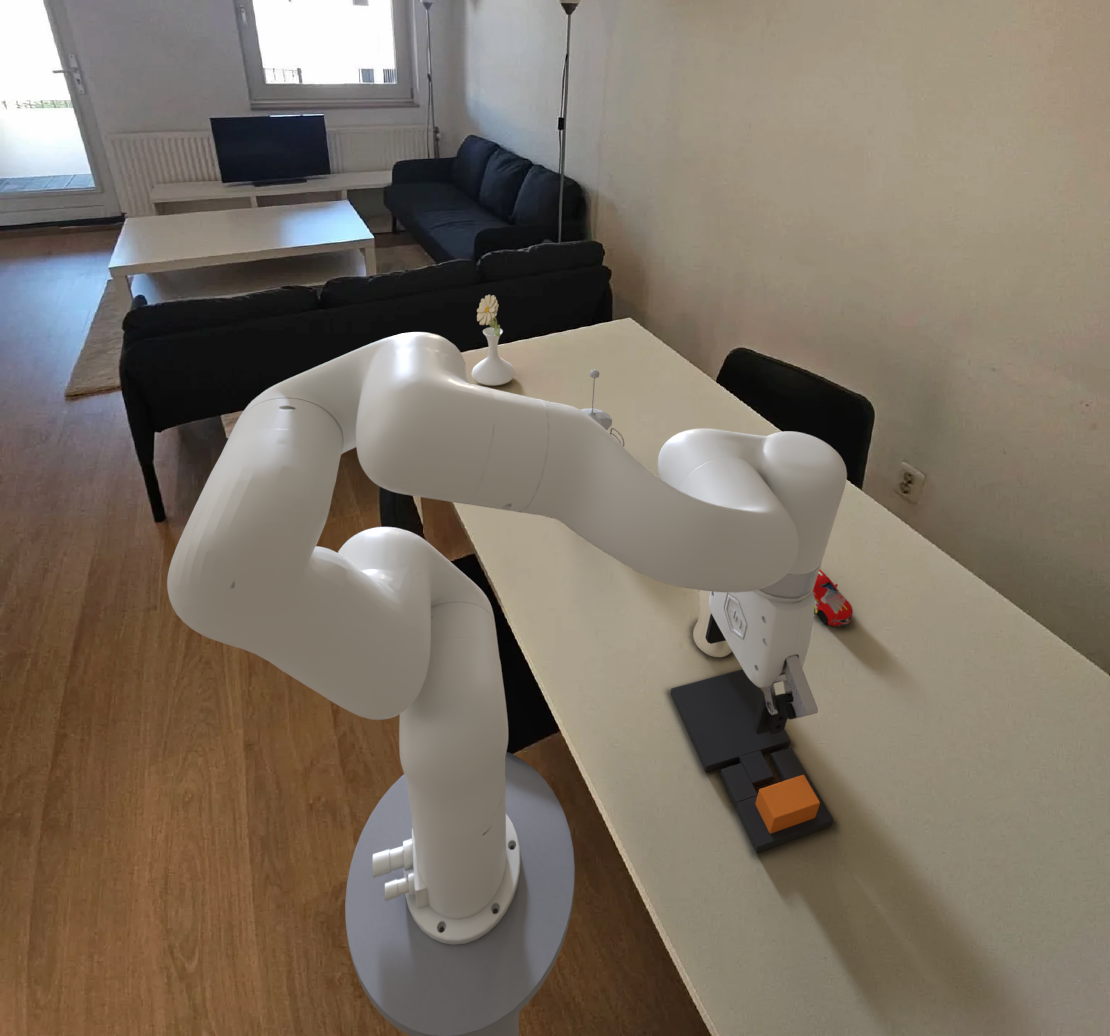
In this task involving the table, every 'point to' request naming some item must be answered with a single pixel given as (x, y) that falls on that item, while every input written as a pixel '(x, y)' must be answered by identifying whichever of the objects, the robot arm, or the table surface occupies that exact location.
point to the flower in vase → (491, 348)
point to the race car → (830, 602)
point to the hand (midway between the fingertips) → (742, 680)
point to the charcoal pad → (727, 724)
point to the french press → (600, 415)
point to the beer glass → (701, 628)
